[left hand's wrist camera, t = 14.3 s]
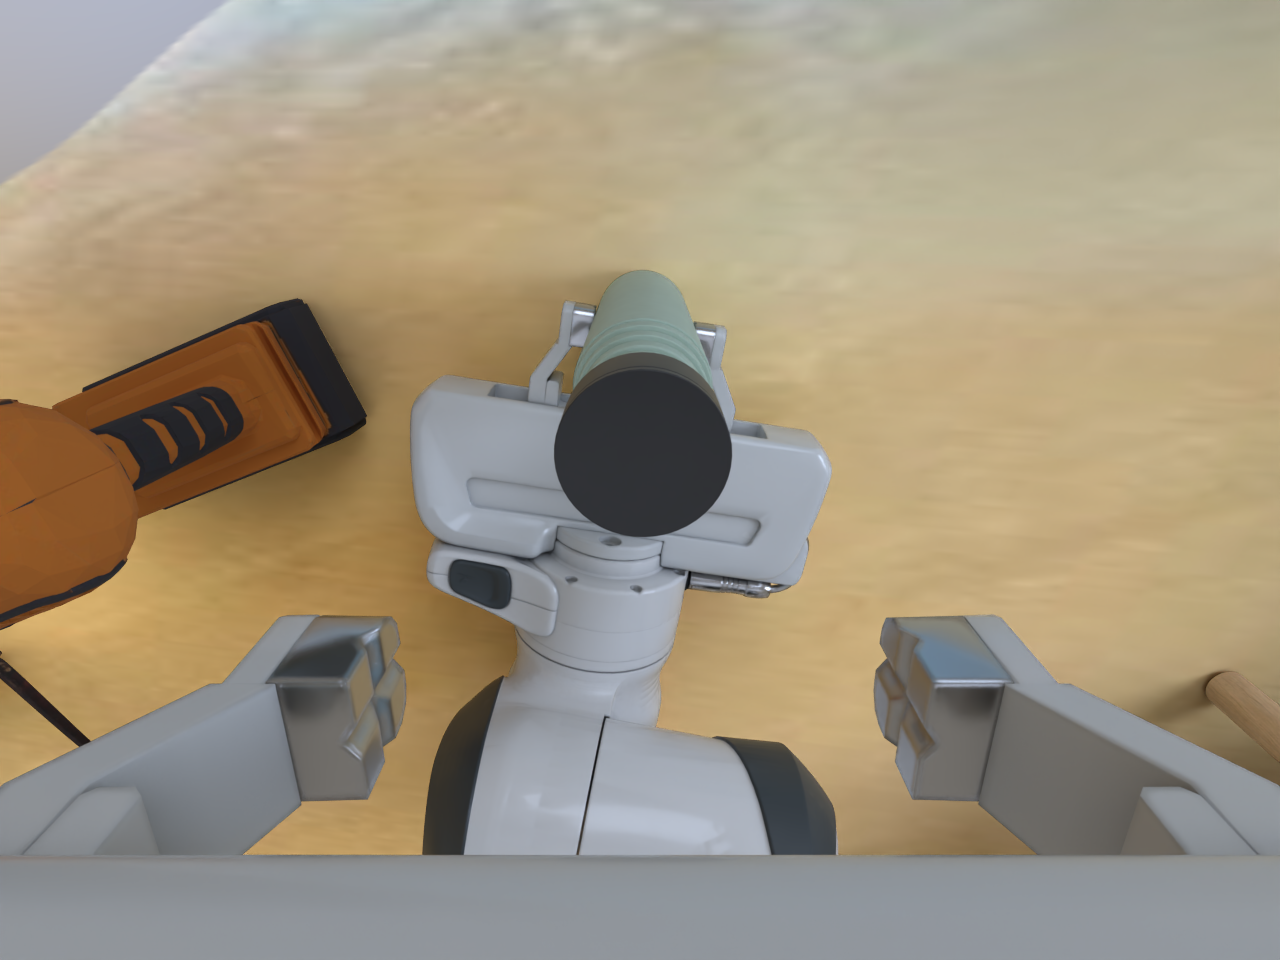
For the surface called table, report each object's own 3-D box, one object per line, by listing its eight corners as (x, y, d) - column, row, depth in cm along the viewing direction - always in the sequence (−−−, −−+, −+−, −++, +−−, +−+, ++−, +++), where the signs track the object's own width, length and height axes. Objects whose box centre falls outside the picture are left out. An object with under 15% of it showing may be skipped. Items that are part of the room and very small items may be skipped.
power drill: (88, 533, 43) (-550, 926, 20) (6, 423, 41) (-832, 727, 18) (408, 404, 40) (90, 692, 17) (340, 277, 38) (-140, 412, 15)
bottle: (594, 353, 40) (544, 525, 19) (603, 264, 38) (557, 349, 17) (680, 363, 40) (720, 544, 19) (692, 275, 38) (750, 372, 18)
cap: (556, 497, 21) (547, 528, 19) (568, 342, 19) (560, 359, 17) (710, 513, 21) (717, 546, 19) (736, 361, 19) (746, 380, 17)
